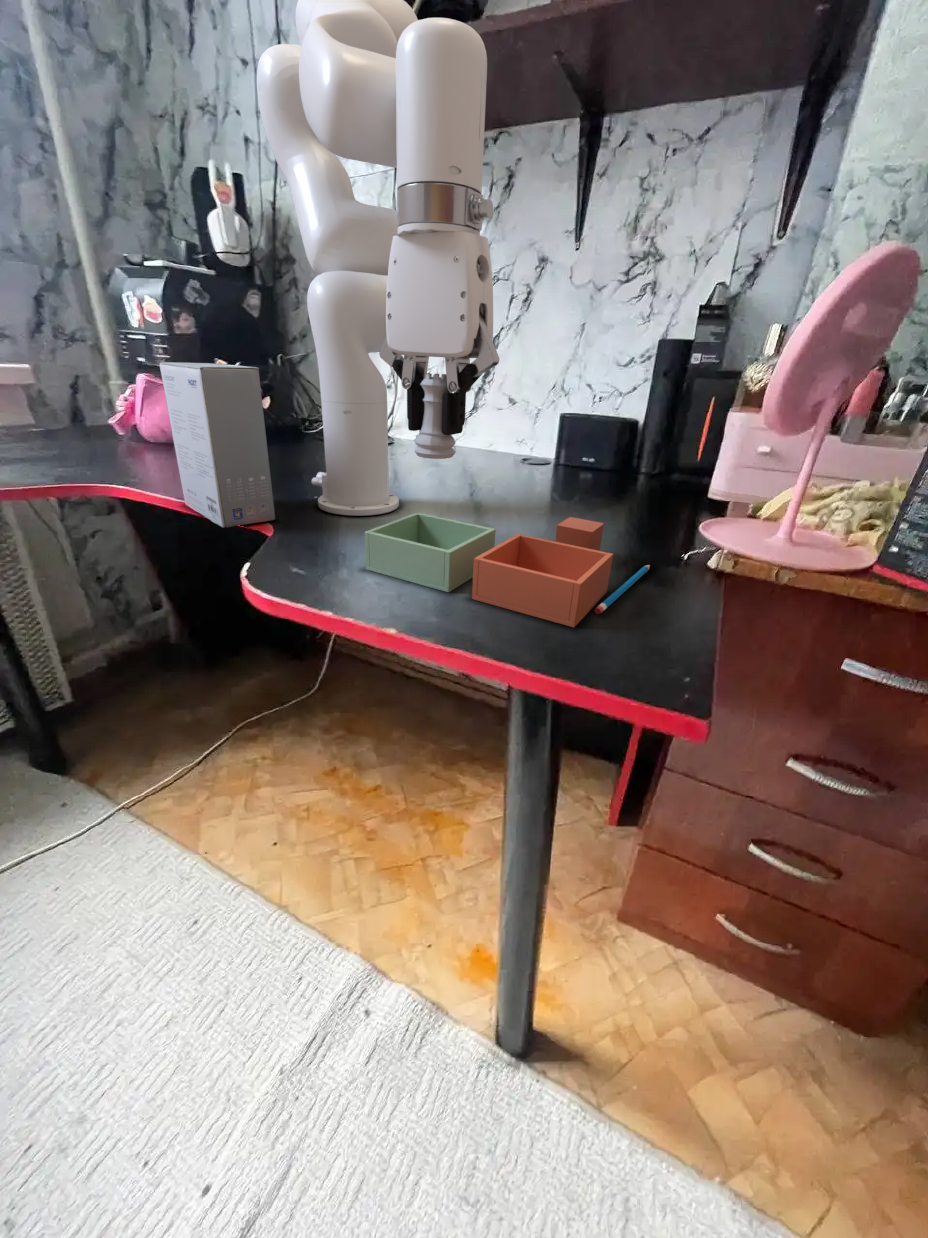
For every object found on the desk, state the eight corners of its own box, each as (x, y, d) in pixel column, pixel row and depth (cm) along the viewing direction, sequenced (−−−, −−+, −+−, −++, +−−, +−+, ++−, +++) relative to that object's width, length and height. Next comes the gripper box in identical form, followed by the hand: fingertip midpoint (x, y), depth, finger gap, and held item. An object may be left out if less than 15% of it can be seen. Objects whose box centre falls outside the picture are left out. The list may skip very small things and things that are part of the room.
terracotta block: (552, 559, 68) (556, 524, 66) (565, 550, 72) (570, 516, 70) (587, 567, 66) (592, 531, 64) (598, 557, 70) (604, 523, 68)
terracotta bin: (471, 599, 57) (473, 558, 55) (514, 570, 65) (517, 533, 63) (574, 627, 52) (580, 584, 50) (606, 592, 60) (613, 553, 58)
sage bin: (365, 569, 63) (364, 531, 61) (416, 546, 71) (417, 512, 69) (448, 592, 58) (450, 552, 56) (493, 565, 66) (495, 528, 64)
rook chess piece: (450, 460, 56) (453, 376, 53) (409, 457, 57) (408, 373, 54) (459, 453, 60) (462, 374, 57) (420, 450, 61) (420, 372, 57)
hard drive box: (277, 521, 78) (260, 367, 69) (223, 530, 73) (198, 366, 64) (233, 498, 88) (213, 361, 79) (182, 505, 83) (155, 360, 74)
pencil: (593, 613, 55) (594, 607, 55) (646, 566, 68) (647, 561, 68) (601, 615, 55) (601, 609, 54) (652, 568, 67) (653, 563, 67)
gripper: (539, 222, 49) (521, 436, 57) (390, 232, 56) (393, 421, 64) (501, 202, 43) (487, 444, 51) (341, 216, 50) (351, 426, 58)
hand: (435, 429), depth 57 cm, fingers closed on rook chess piece, 3 cm apart
